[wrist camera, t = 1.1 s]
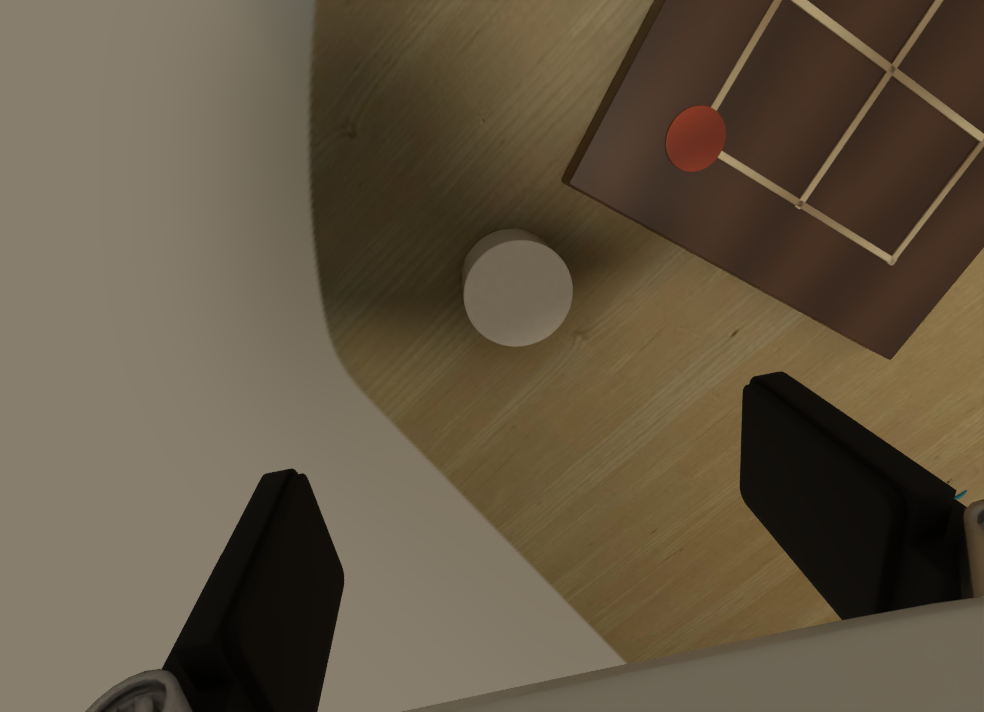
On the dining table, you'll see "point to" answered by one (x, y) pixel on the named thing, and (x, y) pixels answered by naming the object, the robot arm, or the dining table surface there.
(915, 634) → the robot arm
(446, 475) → the dining table surface
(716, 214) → the board
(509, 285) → the beige round puck
